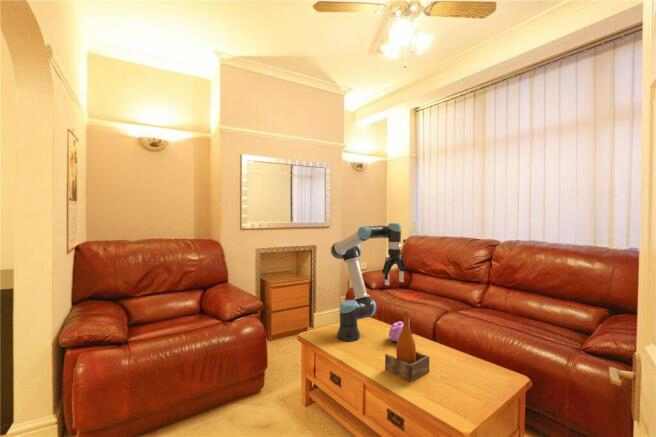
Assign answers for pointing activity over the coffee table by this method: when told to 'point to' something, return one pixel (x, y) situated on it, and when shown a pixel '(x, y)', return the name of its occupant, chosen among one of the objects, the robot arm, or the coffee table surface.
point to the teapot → (396, 331)
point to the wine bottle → (406, 342)
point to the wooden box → (408, 367)
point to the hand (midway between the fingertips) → (394, 283)
